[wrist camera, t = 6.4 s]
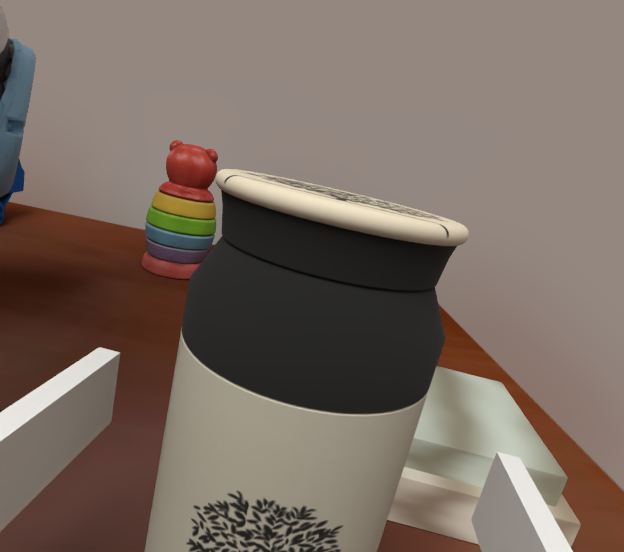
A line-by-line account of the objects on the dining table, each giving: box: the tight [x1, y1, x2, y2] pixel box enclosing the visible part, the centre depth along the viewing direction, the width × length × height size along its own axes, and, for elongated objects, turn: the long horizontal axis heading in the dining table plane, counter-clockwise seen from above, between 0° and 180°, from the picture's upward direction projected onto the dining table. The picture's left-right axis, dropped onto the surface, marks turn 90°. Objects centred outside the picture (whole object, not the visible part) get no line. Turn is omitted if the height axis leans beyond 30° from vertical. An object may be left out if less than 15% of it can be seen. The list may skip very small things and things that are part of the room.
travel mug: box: [144, 169, 469, 552], centre depth 15 cm, size 8×8×18 cm
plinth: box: [387, 366, 581, 547], centre depth 32 cm, size 14×14×5 cm
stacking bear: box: [141, 140, 218, 279], centre depth 62 cm, size 11×10×18 cm
